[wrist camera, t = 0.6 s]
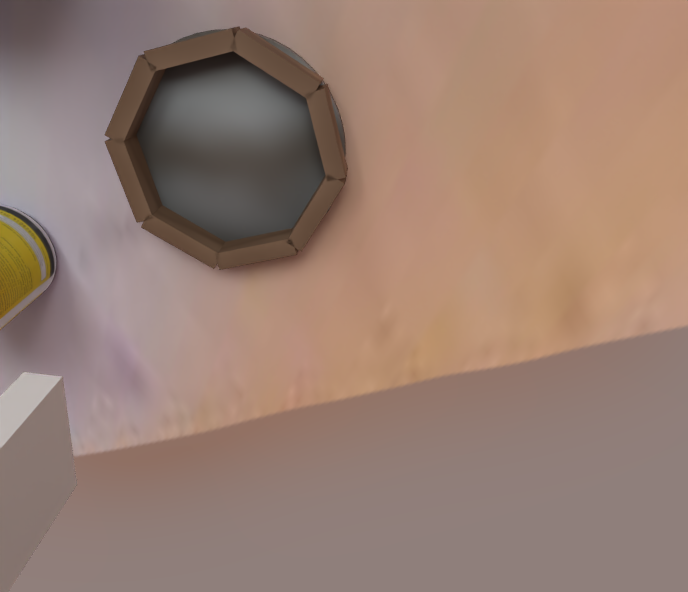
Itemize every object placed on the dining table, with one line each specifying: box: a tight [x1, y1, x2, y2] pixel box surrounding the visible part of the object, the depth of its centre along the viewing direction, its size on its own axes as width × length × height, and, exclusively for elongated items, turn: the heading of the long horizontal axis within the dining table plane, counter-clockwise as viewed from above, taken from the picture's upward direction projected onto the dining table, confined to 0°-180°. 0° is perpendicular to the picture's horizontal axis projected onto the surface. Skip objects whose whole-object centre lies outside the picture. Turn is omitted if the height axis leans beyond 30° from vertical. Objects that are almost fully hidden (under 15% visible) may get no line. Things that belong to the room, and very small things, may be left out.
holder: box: [105, 26, 348, 270], centre depth 34 cm, size 12×12×3 cm
